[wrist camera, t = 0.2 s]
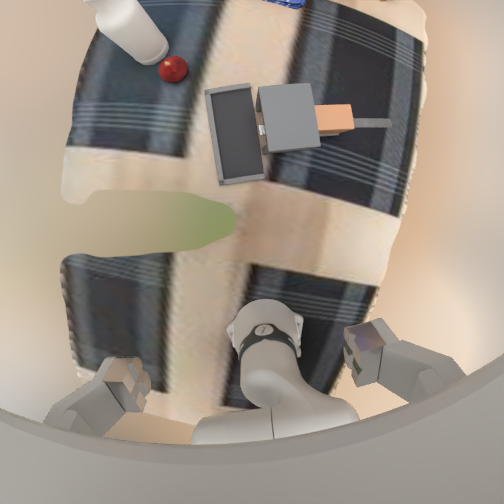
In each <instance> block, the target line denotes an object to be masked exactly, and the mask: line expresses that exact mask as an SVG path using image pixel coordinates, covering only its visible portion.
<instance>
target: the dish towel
mask: <svg viewBox="0 0 504 504" xmlns="http://www.w3.org/2000/svg"><path fill="white" fill-rule="evenodd" d="M264 1H268V2H272V3H275V4H279V5H283V6H286V7H289V8H294V9H299V7H300V6H301V5H304V3H305V0H264Z"/></svg>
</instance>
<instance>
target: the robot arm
mask: <svg viewBox="0 0 504 504" xmlns="http://www.w3.org/2000/svg"><path fill="white" fill-rule="evenodd" d="M297 323H299V324H298V325H297ZM302 326H303V317H302V316H301V315H299V314H297V313H294V312H292V311H291V310H290V309H289V308H288V307H287V306H286V305H285V304H283V303H281V302H279V301H276V300H273V299H259V300H255V301H252V302H250V303H248V304H247V305H245V306H244V307H243V308H242V309H241V310H240V311H239V312H238V314H237V316H236V318H235V319H234V321H232V322H231V323H230V324H228V325H227V327H226V331H227V333H228V335H229V337H230V339H231V341H232V343H233V347H234V348H235V349H236V351H237V353H238V359H239V365H240V367H241V378H240V386H241V390H242V392H243V394H244V395H245V397H246V398H247V399H248V400H249V401H251V402H252V403H253V404H255V405H256V406H258V407H261V409H253V410H242V411H230V412H226V413H222V414H217V415H213V416H210V417H206V418H203V419H201V420H200V421H199V423H198V424H197V425H196V427H195V429H194V431H193V434H192V439H191V445H185V444H183V445H181V444H159V443H145V442H134V441H125V440H118V439H111V438H105V437H102V436H103V435H104V434H105V433H106V432H107V431H108V430H109V429H110V428H111V427H112V426H113V425H114V424H115V423H116V422H117V421H118V420H119V419H120V418H121V417H122V416H123V415H124V414H125V412H143V410H144V407H145V404H146V399H145V396H146V395H147V394H149V392H150V389H151V381H150V378H149V375H148V373H147V372H146V371H145V370H143V369H142V365H143V364H142V362H141V360H140V358H138V357H107V358H105V360H104V361H103V363H102V365H101V366H100V368H99V370H98V372H97V373H96V375H95V377H94V379H93V380H92V381H89V382H87V383H86V384H84V385H83V386H81V387H80V388H78V389H77V390H76V391H74V392H72V393H71V394H69V395H68V396H66V397H65V398H63V399H62V400H61V401H59V402H57V403H56V404H55V405H53V406H52V408H51V409H50V412H49V413H48V415H47V416H46V418H45V420H44V422H43V423H40V422H37V421H34V420H31V419H28V418H25V417H22V416H19V415H16V414H14V413H11V412H8V411H6V410H3V409H1V408H0V504H504V354H502V355H501V356H500V357H498V358H496V359H495V360H493V361H492V362H490V363H489V364H487V365H485V366H483V367H482V368H480V369H479V370H477V371H475V372H473V373H472V374H470V375H468V376H466V374H465V373H464V372H463V371H462V370H461V368H460V367H459V366H458V365H457V363H456V362H455V361H454V360H453V359H452V358H451V357H449V356H446V355H443V354H440V353H437V352H434V351H431V350H429V349H426V348H423V347H420V346H418V345H415V344H412V343H410V342H407V341H404V340H401V341H399V340H398V338H397V337H396V336H395V334H394V333H393V332H392V330H391V329H390V328H389V327H388V325H387V324H386V323H385V321H384V320H383V319H382V318H378V319H375V320H372V321H369V322H366V323H362V324H358V325H354V326H350V327H346V328H345V329H344V338H345V340H346V343H345V344H344V357H345V361H346V364H347V366H348V368H350V369H352V377H353V380H354V382H355V384H356V386H357V387H360V386H364V385H367V384H371V383H375V382H378V383H379V384H381V385H382V386H384V387H385V388H387V389H388V390H390V391H392V392H393V393H395V394H396V395H398V396H400V397H401V398H403V399H404V400H406V401H407V402H409V403H408V404H406V405H404V406H401V407H398V408H395V409H393V410H390V411H387V412H384V413H382V414H378V415H376V416H372V417H370V418H366V419H363V420H360V419H359V416H358V414H357V412H356V410H355V409H354V408H353V406H351V405H350V404H349V403H348V402H347V401H345V400H343V399H340V398H335V397H331V396H328V395H325V394H323V393H321V392H319V391H317V390H315V389H314V388H312V387H311V386H310V385H308V384H307V383H306V382H305V381H304V379H303V378H302V376H301V373H300V371H299V368H298V365H297V357H300V356H301V349H300V348H299V346H301V341H300V338H301V332H302ZM232 332H233V333H232Z"/></svg>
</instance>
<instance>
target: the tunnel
mask: <svg viewBox="0 0 504 504" xmlns="http://www.w3.org/2000/svg"><path fill="white" fill-rule="evenodd" d="M260 111H262V115H263V121H264V127H265V133H266V140H267V145H266V146H265V147H264V148H263V149H262V150H263V155H265V154H273V153H281V152H290V151H299V150H305V149H310V148H315V147H319V146H321V145H320V138H319V131H318V125H317V118H316V112H315V106H314V101H313V95H312V90H311V85H310V83H301V84H285V85H273V86H264V87H258V94H257V101H256V112H260Z"/></svg>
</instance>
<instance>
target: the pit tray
mask: <svg viewBox="0 0 504 504" xmlns="http://www.w3.org/2000/svg"><path fill="white" fill-rule="evenodd" d="M250 88H251V87H250V83H244V84H237V85H231V86H225V87H219V88H214V89H208V90H205V97H206V104H207V110H208V117H209V124H210V130H211V136H212V143H213V149H214V155H215V162H216V168H217V174H218V180H219V186H220V185H226V184H232V183H238V182H245V181H252V180H258V179H265V175H264V172H263V165H262V159H261V152H260V145H259V139H258V133H257V126H256V120H255V114H254V108H253V102H252V96H251V90H250Z"/></svg>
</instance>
